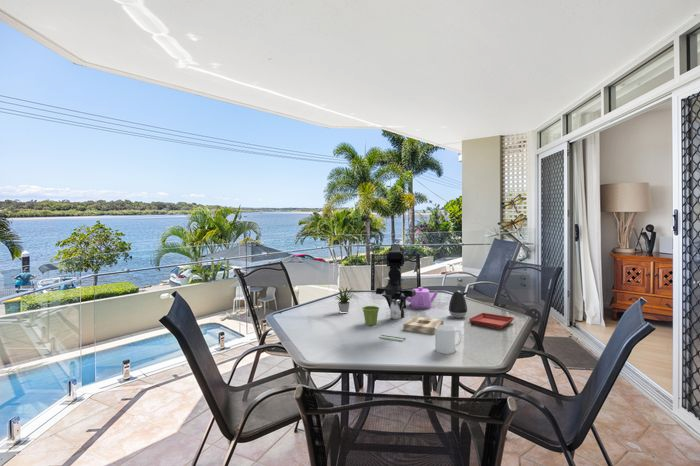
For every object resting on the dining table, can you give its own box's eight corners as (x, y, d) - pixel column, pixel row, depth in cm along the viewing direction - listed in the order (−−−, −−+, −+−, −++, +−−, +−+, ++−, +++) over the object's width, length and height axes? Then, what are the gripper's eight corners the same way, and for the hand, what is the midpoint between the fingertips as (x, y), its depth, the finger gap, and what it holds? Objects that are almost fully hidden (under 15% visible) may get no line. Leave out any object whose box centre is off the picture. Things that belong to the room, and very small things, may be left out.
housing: (403, 331, 189) (403, 323, 189) (414, 323, 203) (414, 316, 203) (434, 336, 181) (434, 328, 181) (443, 327, 195) (443, 319, 195)
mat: (379, 337, 180) (379, 336, 180) (389, 331, 190) (388, 329, 190) (402, 341, 174) (402, 340, 174) (411, 334, 185) (411, 333, 185)
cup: (431, 348, 164) (431, 325, 164) (456, 345, 167) (456, 323, 167) (441, 355, 156) (441, 331, 156) (466, 352, 159) (466, 328, 159)
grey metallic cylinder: (389, 318, 181) (388, 300, 181) (392, 315, 185) (392, 298, 185) (398, 319, 178) (398, 301, 178) (402, 316, 183) (402, 299, 183)
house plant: (362, 311, 231) (361, 285, 230) (350, 316, 219) (349, 289, 219) (342, 308, 239) (342, 283, 238) (330, 313, 227) (329, 286, 226)
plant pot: (383, 323, 204) (382, 307, 204) (372, 327, 198) (371, 311, 197) (369, 320, 211) (369, 305, 211) (358, 324, 204) (358, 308, 204)
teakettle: (419, 301, 254) (419, 283, 254) (439, 306, 241) (439, 287, 241) (401, 305, 244) (401, 287, 243) (422, 310, 231) (421, 290, 230)
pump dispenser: (468, 319, 209) (468, 292, 208) (449, 318, 211) (449, 292, 210) (466, 314, 219) (466, 289, 218) (448, 314, 221) (448, 288, 220)
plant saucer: (468, 324, 200) (468, 318, 200) (482, 317, 213) (482, 312, 213) (502, 331, 188) (502, 325, 188) (515, 323, 201) (515, 317, 201)
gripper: (370, 278, 179) (371, 311, 179) (407, 281, 170) (408, 315, 170) (380, 275, 188) (380, 306, 189) (415, 277, 179) (416, 309, 180)
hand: (395, 309), depth 182 cm, fingers closed on grey metallic cylinder, 5 cm apart
